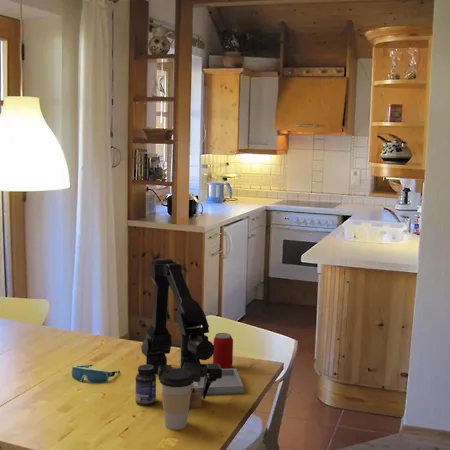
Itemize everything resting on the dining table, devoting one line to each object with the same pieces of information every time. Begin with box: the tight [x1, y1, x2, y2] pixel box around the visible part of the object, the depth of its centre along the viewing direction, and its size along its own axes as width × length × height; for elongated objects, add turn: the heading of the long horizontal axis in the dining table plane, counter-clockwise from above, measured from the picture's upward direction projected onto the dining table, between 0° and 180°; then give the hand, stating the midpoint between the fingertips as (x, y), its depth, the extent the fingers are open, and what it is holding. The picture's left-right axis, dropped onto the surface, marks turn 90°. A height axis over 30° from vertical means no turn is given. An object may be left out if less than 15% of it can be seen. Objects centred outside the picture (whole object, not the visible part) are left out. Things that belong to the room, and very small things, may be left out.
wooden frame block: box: [189, 385, 202, 409], centre depth 194 cm, size 6×8×4 cm
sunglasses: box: [71, 364, 120, 384], centre depth 214 cm, size 14×15×5 cm
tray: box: [192, 368, 245, 396], centre depth 208 cm, size 15×15×2 cm
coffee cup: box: [159, 367, 194, 431], centre depth 179 cm, size 9×9×15 cm
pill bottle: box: [135, 363, 157, 407], centre depth 193 cm, size 6×6×11 cm
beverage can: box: [212, 332, 234, 369], centre depth 222 cm, size 7×7×12 cm
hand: (189, 398), depth 194 cm, fingers open, 8 cm apart
